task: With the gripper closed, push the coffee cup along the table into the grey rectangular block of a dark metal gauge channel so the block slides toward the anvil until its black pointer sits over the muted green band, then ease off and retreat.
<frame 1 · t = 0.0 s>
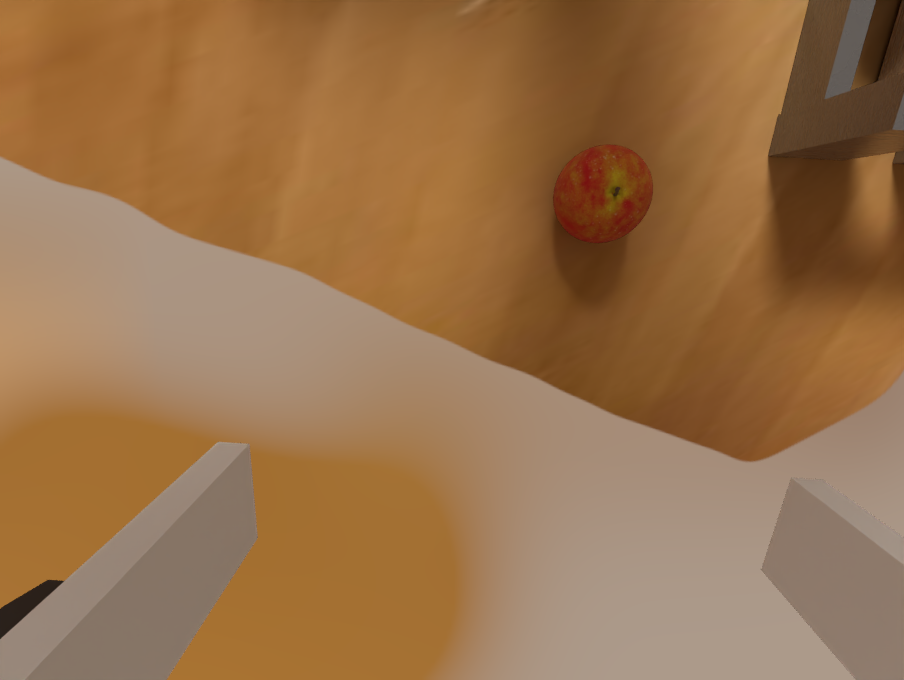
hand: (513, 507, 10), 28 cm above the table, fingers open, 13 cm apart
gauge base: (903, 47, 31), on the table
fruit: (586, 198, 35), on the table
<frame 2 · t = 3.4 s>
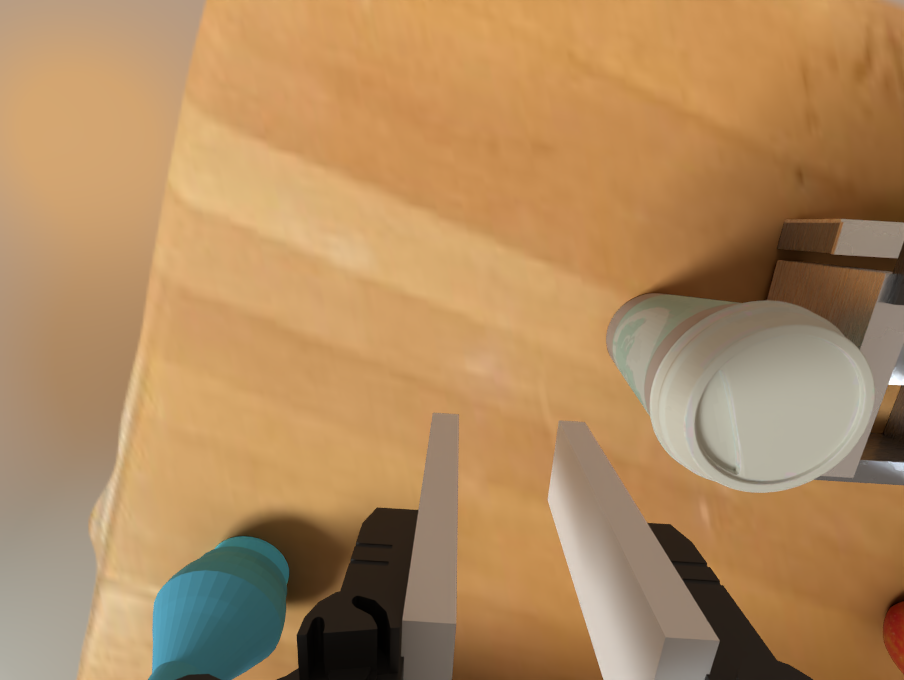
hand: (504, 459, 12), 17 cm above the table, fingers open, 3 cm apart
coffee cup: (647, 334, 28), on the table
gauge base: (840, 347, 28), on the table
fruit: (899, 608, 34), on the table
perfume bottle: (250, 567, 35), on the table
grey rectangular block: (884, 340, 24), point 4 cm above the table, slide at 0.0 cm
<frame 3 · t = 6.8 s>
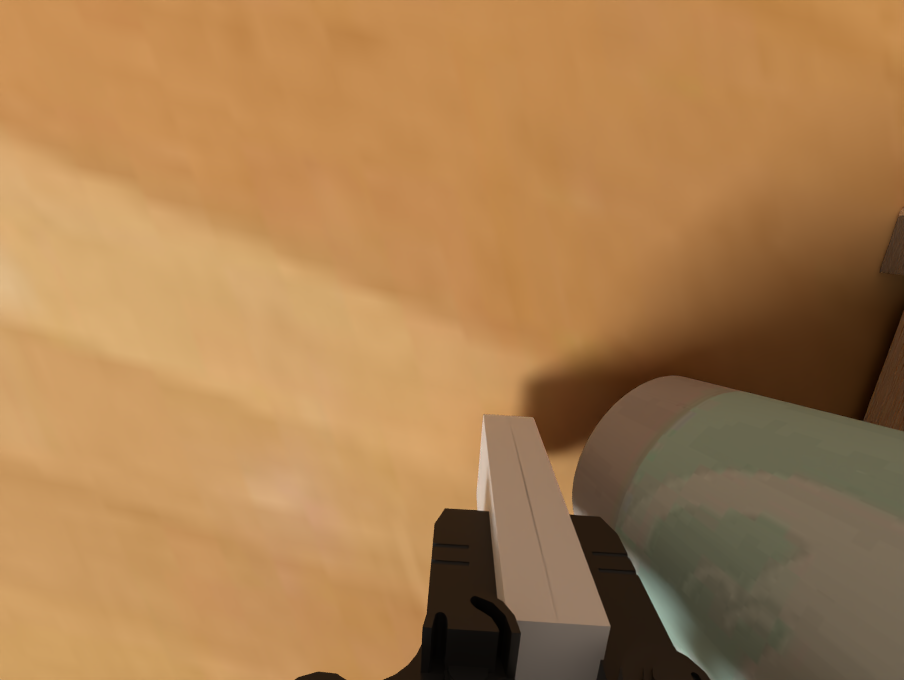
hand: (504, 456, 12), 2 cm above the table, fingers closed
coffee cup: (641, 460, 13), point 1 cm above the table, touching hand, grey rectangular block
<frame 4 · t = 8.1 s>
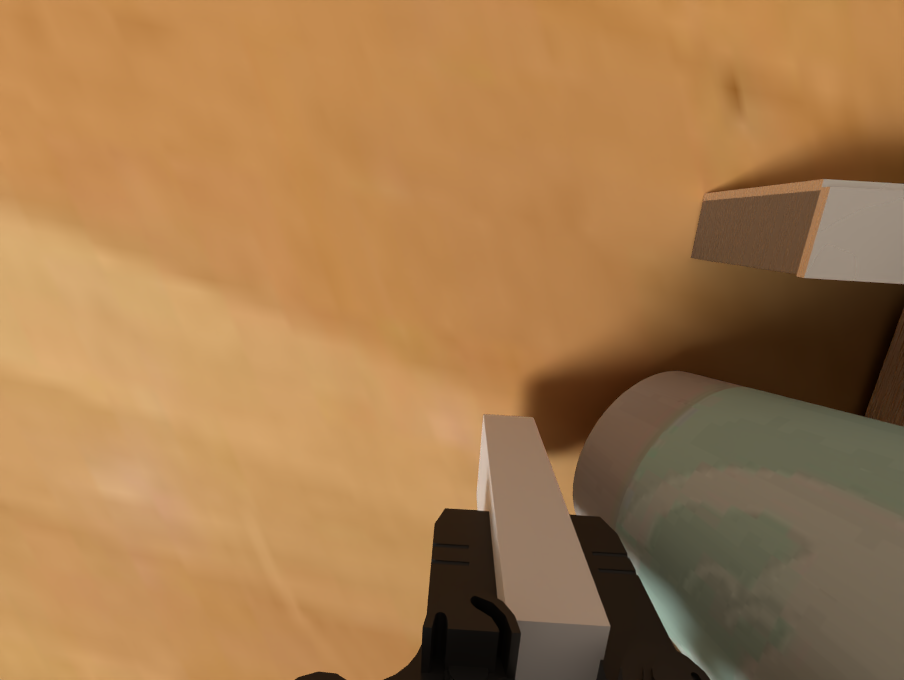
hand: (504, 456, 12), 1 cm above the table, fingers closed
coffee cup: (642, 456, 13), point 1 cm above the table, touching hand, grey rectangular block
gauge base: (830, 456, 14), on the table
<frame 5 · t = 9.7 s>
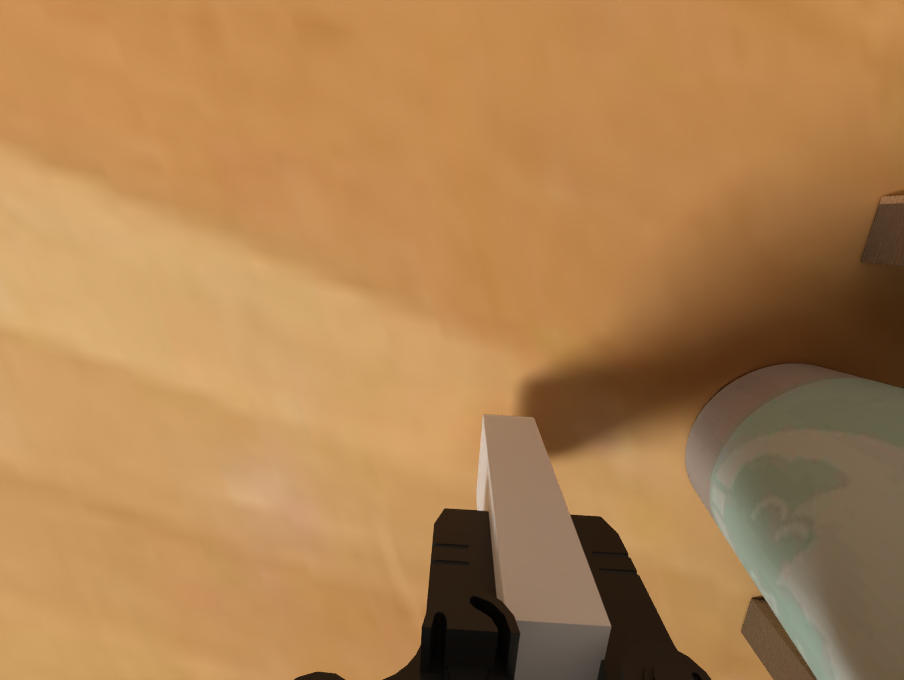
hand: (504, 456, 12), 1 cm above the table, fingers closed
coffee cup: (768, 442, 14), on the table
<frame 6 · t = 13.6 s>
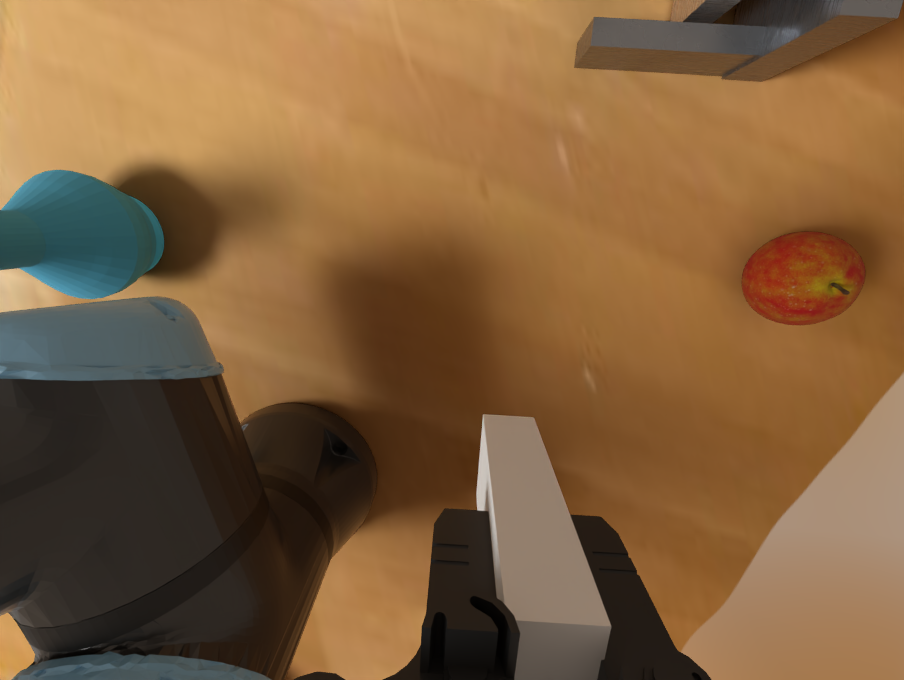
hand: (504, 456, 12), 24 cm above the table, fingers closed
fruit: (763, 273, 35), on the table
perfume bottle: (126, 235, 35), on the table
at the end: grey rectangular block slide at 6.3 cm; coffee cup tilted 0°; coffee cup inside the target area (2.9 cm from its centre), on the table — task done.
